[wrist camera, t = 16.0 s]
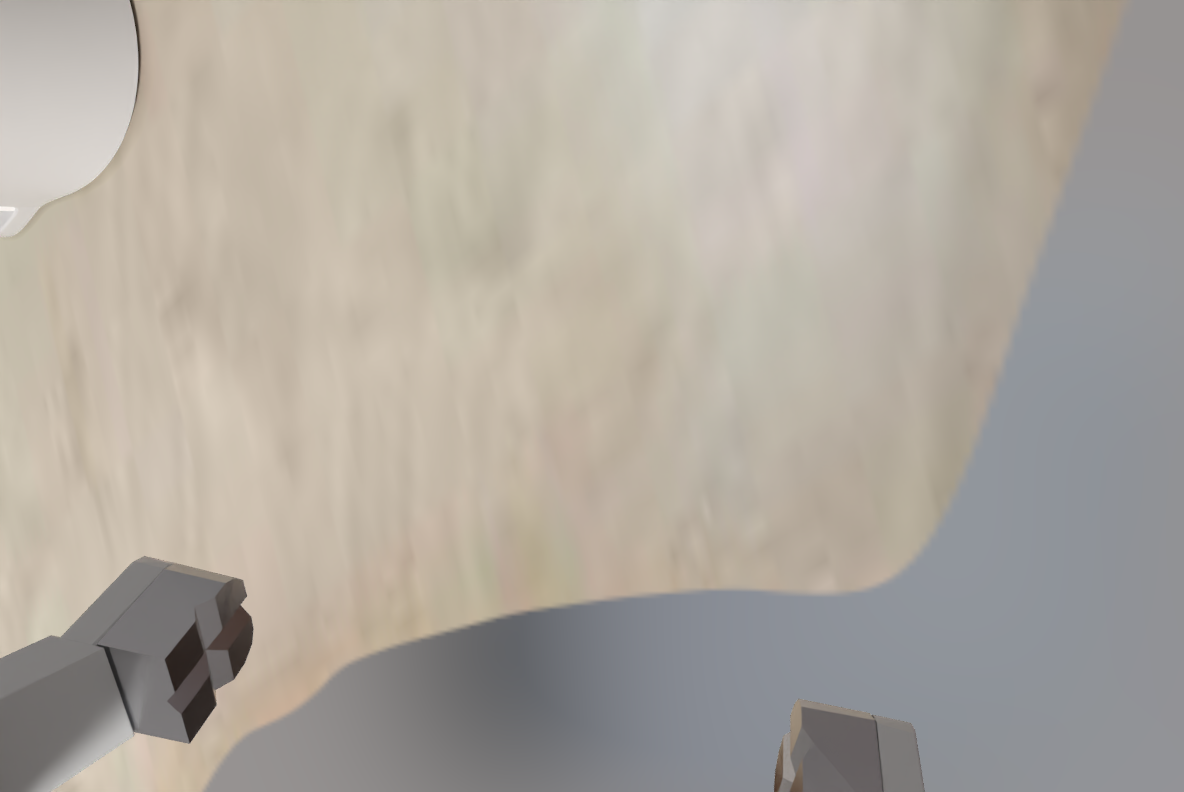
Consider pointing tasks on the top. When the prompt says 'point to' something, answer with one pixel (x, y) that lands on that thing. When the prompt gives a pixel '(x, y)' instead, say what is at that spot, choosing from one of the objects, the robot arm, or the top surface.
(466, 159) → the top surface
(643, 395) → the top surface
